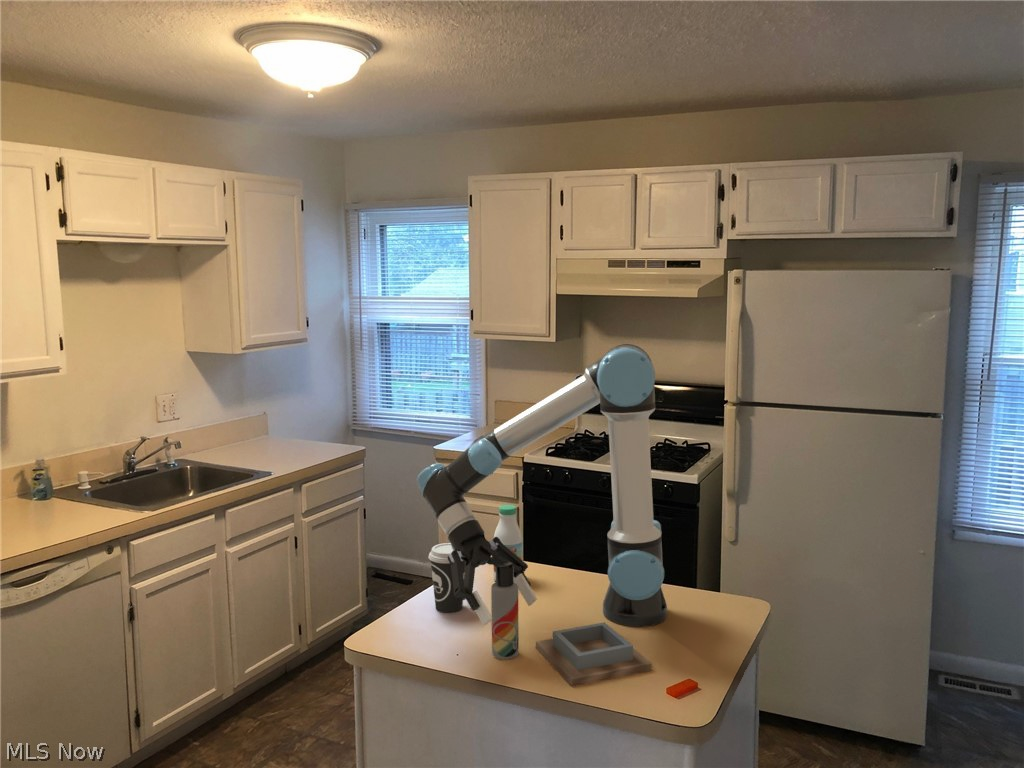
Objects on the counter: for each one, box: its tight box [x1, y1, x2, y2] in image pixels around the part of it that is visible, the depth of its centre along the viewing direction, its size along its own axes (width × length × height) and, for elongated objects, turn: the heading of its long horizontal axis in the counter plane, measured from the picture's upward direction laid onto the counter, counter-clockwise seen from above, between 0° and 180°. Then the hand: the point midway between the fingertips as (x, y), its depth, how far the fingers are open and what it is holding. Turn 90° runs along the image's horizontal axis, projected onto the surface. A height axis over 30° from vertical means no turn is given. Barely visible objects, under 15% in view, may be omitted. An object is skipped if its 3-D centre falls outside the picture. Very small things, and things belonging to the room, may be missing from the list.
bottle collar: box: [552, 622, 634, 671], centre depth 168 cm, size 12×12×3 cm
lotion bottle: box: [490, 562, 520, 660], centre depth 169 cm, size 6×6×20 cm
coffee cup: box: [427, 542, 465, 614], centre depth 194 cm, size 10×10×15 cm
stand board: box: [535, 638, 653, 688], centre depth 168 cm, size 18×18×2 cm
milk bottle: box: [493, 504, 524, 583], centre depth 212 cm, size 8×8×20 cm
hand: (511, 612), depth 168 cm, fingers open, 13 cm apart
